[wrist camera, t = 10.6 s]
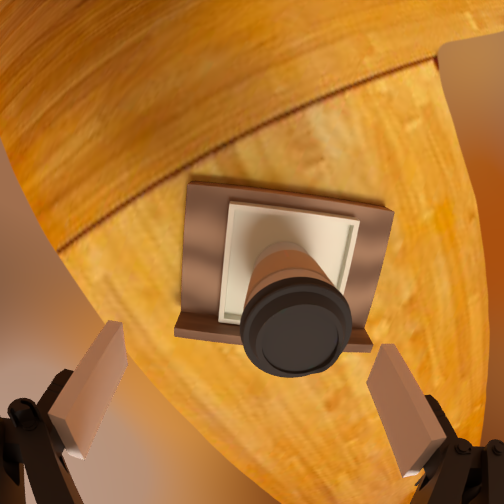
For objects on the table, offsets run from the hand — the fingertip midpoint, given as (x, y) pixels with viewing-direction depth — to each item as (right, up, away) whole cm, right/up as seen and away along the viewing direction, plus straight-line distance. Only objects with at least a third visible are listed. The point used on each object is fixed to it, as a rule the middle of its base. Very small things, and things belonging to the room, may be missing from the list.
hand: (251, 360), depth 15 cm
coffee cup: (+4, +3, +22) cm, 22 cm away
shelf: (+4, +4, +25) cm, 26 cm away
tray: (+4, +3, +22) cm, 23 cm away
